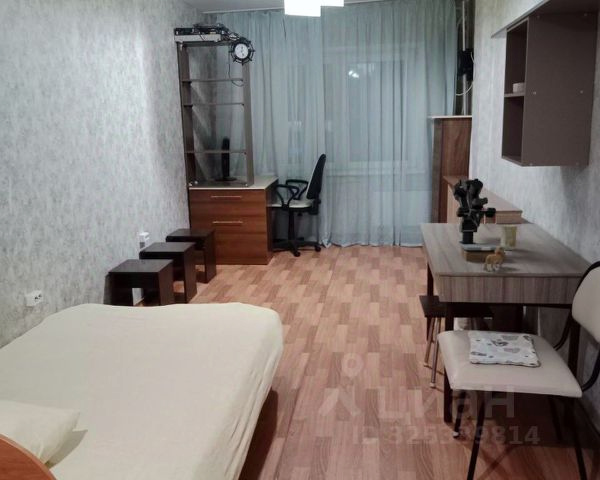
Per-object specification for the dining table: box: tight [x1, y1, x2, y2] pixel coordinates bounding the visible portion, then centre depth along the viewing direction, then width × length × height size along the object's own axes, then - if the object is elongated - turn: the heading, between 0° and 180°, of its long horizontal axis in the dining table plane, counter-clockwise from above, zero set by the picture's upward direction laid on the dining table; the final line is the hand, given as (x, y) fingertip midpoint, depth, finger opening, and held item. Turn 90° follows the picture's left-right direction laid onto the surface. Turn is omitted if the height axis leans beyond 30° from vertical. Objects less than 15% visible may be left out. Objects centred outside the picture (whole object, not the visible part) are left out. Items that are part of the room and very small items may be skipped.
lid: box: [460, 243, 506, 251], centre depth 276 cm, size 13×18×1 cm
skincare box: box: [499, 224, 518, 251], centre depth 291 cm, size 6×4×12 cm
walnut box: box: [460, 246, 506, 262], centre depth 277 cm, size 12×18×4 cm, turn 87°
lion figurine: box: [483, 247, 505, 271], centre depth 258 cm, size 15×5×9 cm, turn 137°
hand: (478, 226), depth 284 cm, fingers closed
